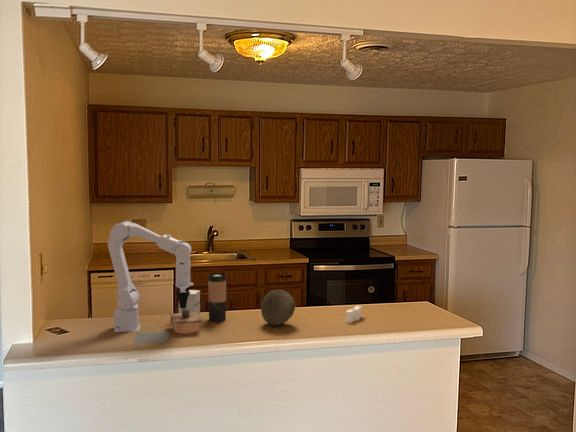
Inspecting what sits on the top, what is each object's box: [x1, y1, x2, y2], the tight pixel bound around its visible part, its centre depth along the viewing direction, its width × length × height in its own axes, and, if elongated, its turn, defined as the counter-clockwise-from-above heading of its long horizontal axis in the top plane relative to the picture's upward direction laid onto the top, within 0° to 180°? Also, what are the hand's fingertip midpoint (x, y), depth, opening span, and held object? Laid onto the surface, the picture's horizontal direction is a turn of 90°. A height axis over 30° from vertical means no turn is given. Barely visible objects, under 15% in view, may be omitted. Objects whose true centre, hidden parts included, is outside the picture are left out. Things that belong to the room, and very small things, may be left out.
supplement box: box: [178, 289, 201, 313], centre depth 233 cm, size 7×7×13 cm
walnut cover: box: [169, 309, 203, 325], centre depth 218 cm, size 12×12×4 cm
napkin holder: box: [345, 305, 363, 324], centre depth 237 cm, size 15×11×6 cm
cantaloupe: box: [260, 289, 296, 327], centre depth 228 cm, size 14×14×15 cm
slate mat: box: [132, 331, 171, 345], centre depth 209 cm, size 13×13×1 cm
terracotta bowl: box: [173, 322, 200, 335], centre depth 219 cm, size 10×10×5 cm
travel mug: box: [208, 272, 227, 323], centre depth 234 cm, size 8×8×20 cm
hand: (183, 305), depth 218 cm, fingers open, 7 cm apart
